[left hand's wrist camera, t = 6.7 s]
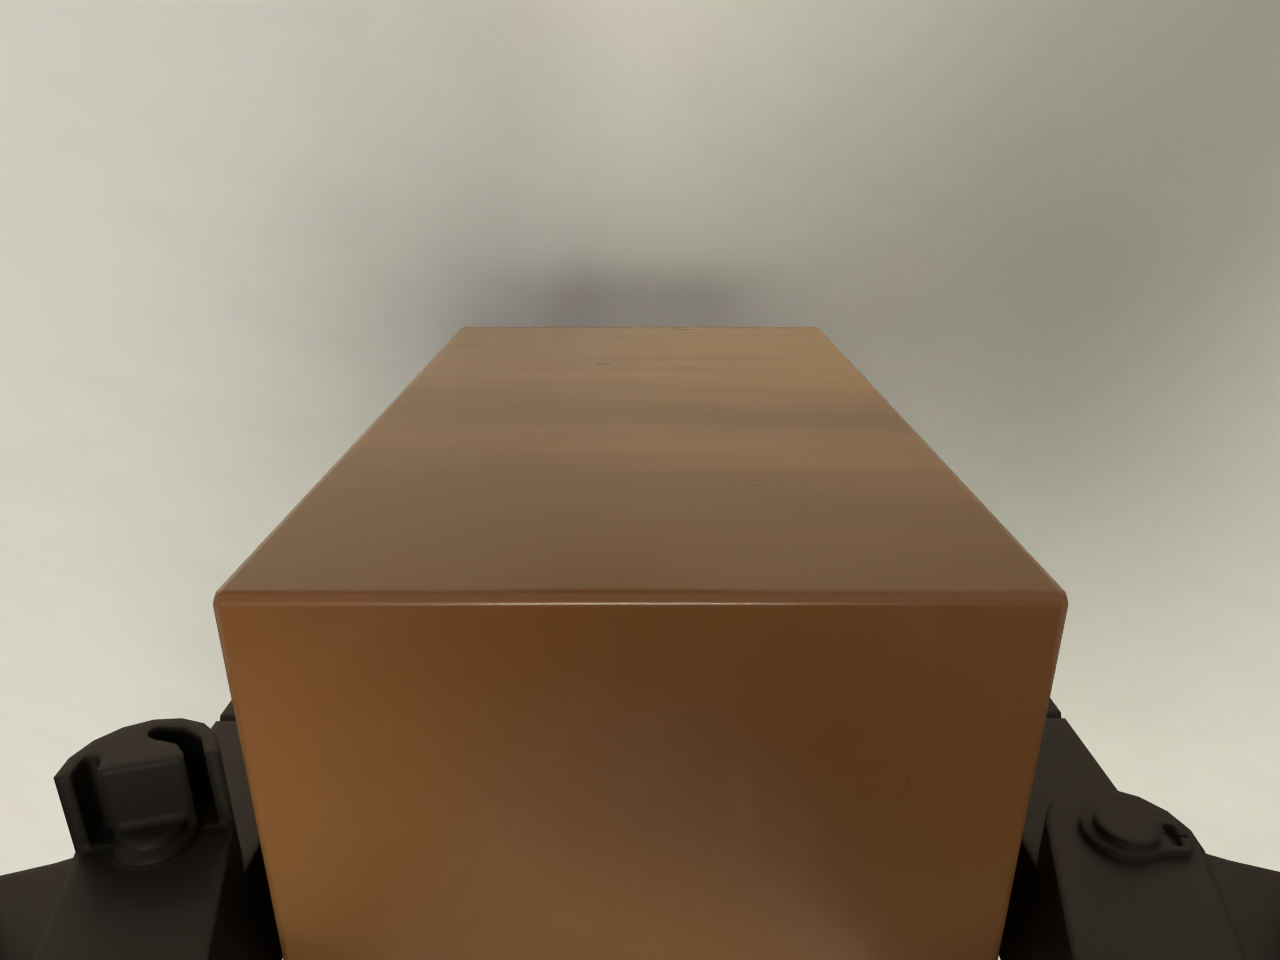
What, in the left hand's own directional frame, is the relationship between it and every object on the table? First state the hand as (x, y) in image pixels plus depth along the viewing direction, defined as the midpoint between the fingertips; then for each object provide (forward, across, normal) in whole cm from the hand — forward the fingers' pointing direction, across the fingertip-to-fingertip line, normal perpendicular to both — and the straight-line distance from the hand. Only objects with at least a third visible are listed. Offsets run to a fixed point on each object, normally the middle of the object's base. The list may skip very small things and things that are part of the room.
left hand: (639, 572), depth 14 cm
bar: (+1, 0, -9) cm, 9 cm away
